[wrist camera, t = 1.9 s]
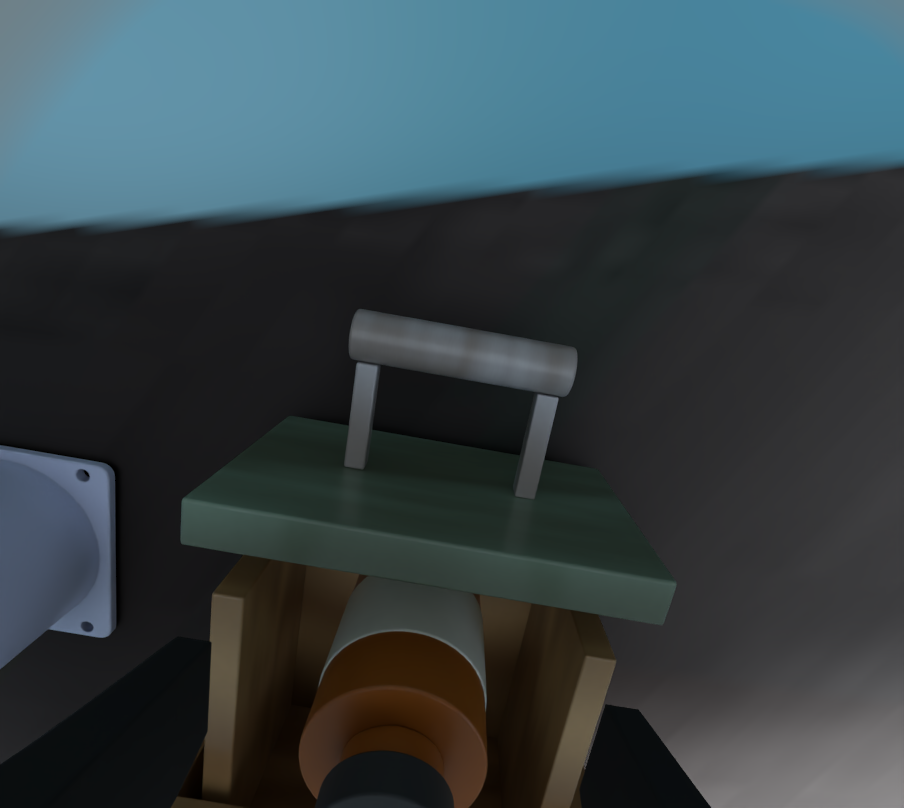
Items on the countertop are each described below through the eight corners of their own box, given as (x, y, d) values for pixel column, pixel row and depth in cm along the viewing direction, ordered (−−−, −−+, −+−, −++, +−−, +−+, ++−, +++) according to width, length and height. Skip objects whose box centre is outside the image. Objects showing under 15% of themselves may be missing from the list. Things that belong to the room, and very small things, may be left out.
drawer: (300, 287, 16) (185, 294, 9) (631, 347, 16) (744, 394, 10) (264, 691, 20) (168, 887, 14) (526, 733, 21) (554, 947, 14)
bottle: (352, 623, 18) (257, 910, 10) (367, 518, 17) (274, 743, 9) (468, 643, 18) (471, 944, 10) (491, 539, 17) (515, 783, 9)
